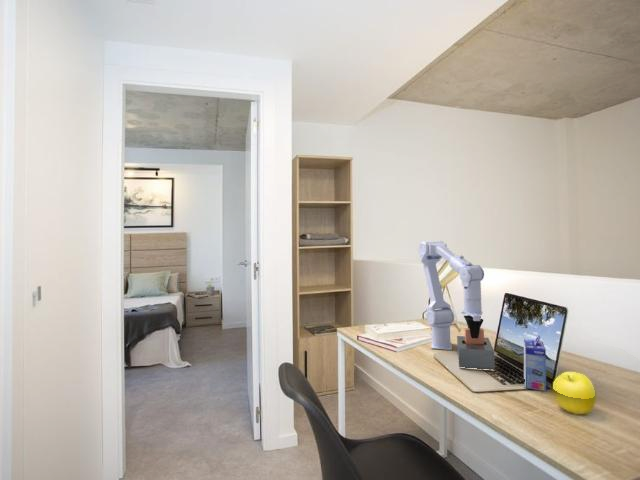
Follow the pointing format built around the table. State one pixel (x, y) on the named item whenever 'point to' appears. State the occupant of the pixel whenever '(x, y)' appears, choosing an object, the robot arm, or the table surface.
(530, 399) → the table surface
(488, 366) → the money box
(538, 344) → the ink cartridge box
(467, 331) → the reddish brown block
